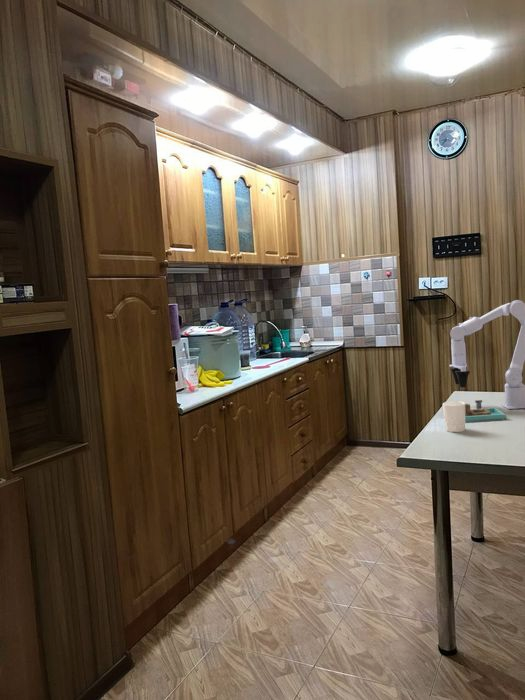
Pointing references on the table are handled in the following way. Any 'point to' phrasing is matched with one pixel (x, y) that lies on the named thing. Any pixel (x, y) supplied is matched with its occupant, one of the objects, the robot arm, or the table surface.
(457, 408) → the white cup
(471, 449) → the table surface
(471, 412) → the collar
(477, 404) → the stake
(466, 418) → the tray
